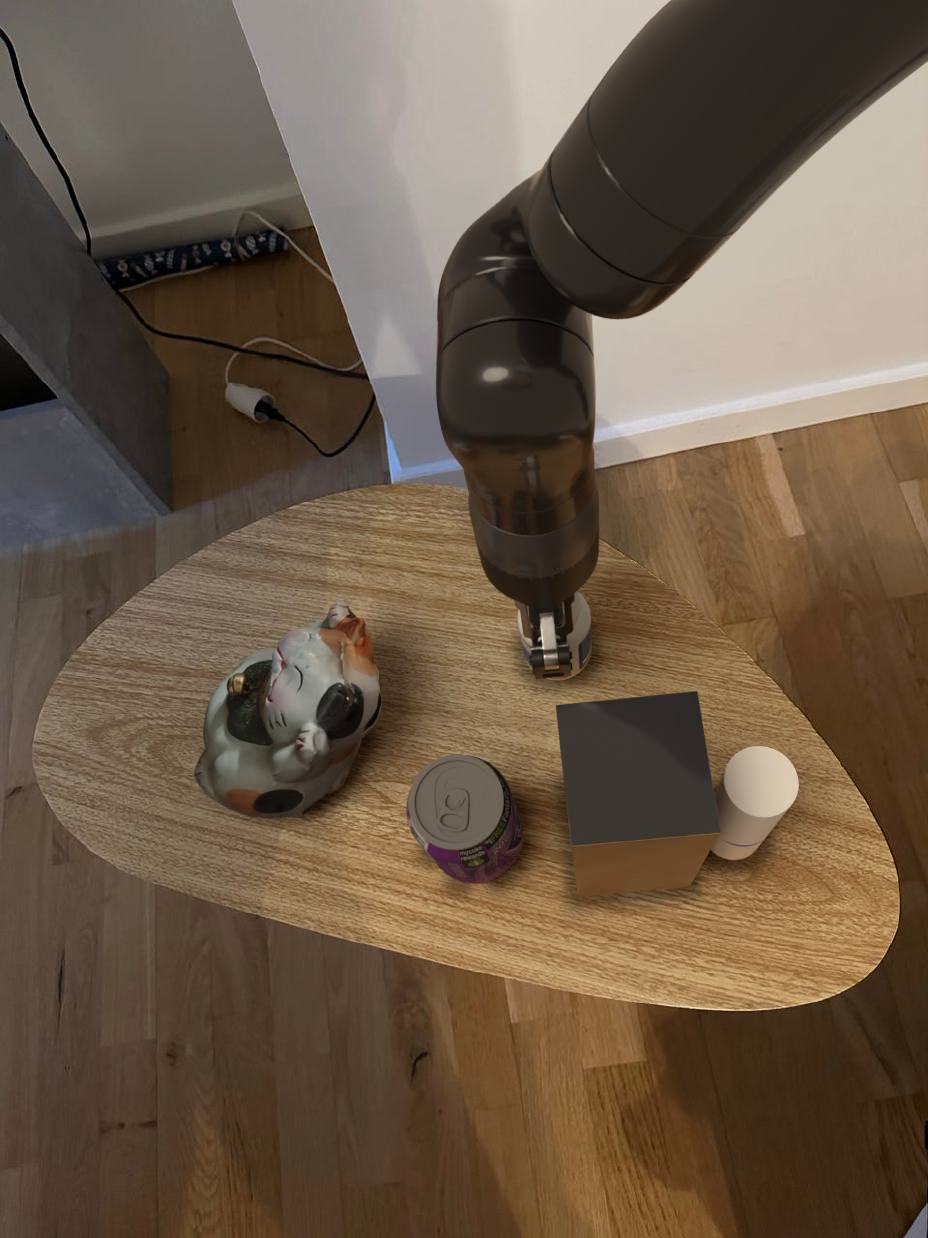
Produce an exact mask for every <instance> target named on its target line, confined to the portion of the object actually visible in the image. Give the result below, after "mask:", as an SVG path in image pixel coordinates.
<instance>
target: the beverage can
mask: <svg viewBox="0 0 928 1238" xmlns="http://www.w3.org/2000/svg"><path fill="white" fill-rule="evenodd" d="M405 806H406V807H405V814H406V815H405V816H406V820H407V826H408V827H409V830H410V832H411V835H412V836H413V838H414V840H415V841H416V843H417V844H418V845H419V847H421V849H422V850H423V851H424V852H425V853H426V855H428V856H429V858H430V859H431V860H432V861H433V862H434V864H436V866H437V867H438V868H439V870H441V871H442V872H443V873H445V874H446V875H447V876H449V877H450V878H452V879H454V880H456V881H459V882H461V883H466V884H483V883H488V882H491V881H493V880H496V879H497V878H500V877H501V876H503V875H504V874H505V873H507V872H508V871H509V870H510V869H511V868H512V867H513V866H514V864H515V862H516V861H517V859H518V857H519V855H520V853H521V851H522V847H523V842H524V826H523V821H522V818H521V815H520V812H519V809H518V806H517V804H516V801H515V798H514V796H513V792H512V790H511V788H510V785H509V783H508V781H507V780H506V777H505V776H504V775H503V774H502V772H500V770H499V769H498V768H497V767H495V766H494V765H493V764H492V763H490V762H488V761H487V760H485V759H483V758H481V757H478V756H475V755H471V754H462V753H454V754H453V753H452V754H447V755H442V756H441V757H438V758H435V759H434V760H432V761H430V762H429V763H427V764H426V765H425V766H424V767H423V768H422V769H421V770H420V771H419V772H418V773H417V775H416V776H415V778H414V780H413V782H412V784H411V786H410V789H409V791H408V794H407V798H406V805H405Z"/></svg>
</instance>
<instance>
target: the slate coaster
mask: <svg viewBox="0 0 928 1238" xmlns="http://www.w3.org/2000/svg"><path fill="white" fill-rule="evenodd" d="M555 713H556V721H557V733H558V740H559V749H560V760H561V768H562V769H561V770H562V778H563V787H564V788H563V789H564V796H565V797H564V798H565V805H566V814H567V815H566V816H567V825H568V834H569V835H568V836H569V843H570V848H571V847H578V846H589V845H600V844H611V843H623V842H634V841H645V840H656V839H667V838H678V837H689V836H701V835H712V834H720V826H719V819H718V813H717V807H716V801H715V795H714V793H715V790H714V784H713V778H712V771H711V765H710V760H709V753H708V747H707V741H706V735H705V728H704V722H703V716H702V710H701V704H700V699H699V691H698V690H693V691H681V692H672V693H671V692H670V693H663V694H653V695H652V694H651V695H642V696H634V697H633V696H631V697H622V698H612V699H602V700H592V701H583V702H575V703H574V702H573V703H564V704H555Z"/></svg>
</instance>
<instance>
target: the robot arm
mask: <svg viewBox="0 0 928 1238" xmlns="http://www.w3.org/2000/svg"><path fill="white" fill-rule="evenodd" d="M927 63H928V0H669V1H668V2H667V3H666V4H665V5H664V6H663V7H661V9H659V10H658V11H657V13H655V14H654V15H653V16H652V17H651V18H650V19H649V21H647V22H646V23H645V24H644V26H643V27H642V28H641V29H640V30H639V31H638V33H636V35H635V36H634V37H633V38H632V39H631V40H630V42H629V43H628V44H627V45H626V47H625V48H624V49H623V51H621V53H620V54H619V55H618V57H617V58H616V60H615V61H614V62H613V63H612V65H611V66H610V67H609V69H608V70H607V71H606V73H605V74H604V75H603V77H602V78H601V80H600V81H599V83H598V84H597V85H596V87H595V88H594V89H593V91H592V92H591V94H590V96H589V97H588V98H587V100H586V101H585V103H584V104H583V106H582V107H581V109H580V110H579V112H578V113H577V114H576V116H575V117H574V119H573V120H572V122H570V124H569V126H568V127H567V129H566V130H565V132H564V134H562V136H561V137H560V139H559V140H558V142H557V144H556V145H555V146H554V148H553V150H552V151H551V153H550V155H549V156H548V157H547V159H546V161H545V162H544V164H543V166H542V167H541V168H540V169H539V170H537V171H536V172H535V173H533V174H531V175H530V176H528V178H527V177H526V178H525V179H524V180H523V181H522V182H520V183H519V184H518V185H516V186H515V187H514V188H512V189H511V190H510V191H509V192H508V193H507V194H505V195H504V196H503V197H502V198H501V199H499V200H498V202H496V203H495V204H494V205H492V206H491V207H490V208H489V209H488V210H486V211H485V212H484V213H483V214H482V215H480V216H479V217H478V218H477V219H475V220H474V222H472V223H471V224H470V225H469V226H468V227H467V228H466V230H464V232H463V233H462V235H461V236H460V238H459V239H458V240H457V242H456V243H455V245H454V246H453V249H452V250H451V253H450V254H449V257H448V259H447V261H446V263H445V266H444V268H443V271H442V273H441V277H440V281H439V286H438V290H437V299H436V309H437V310H436V352H435V353H436V356H435V359H436V360H435V365H436V367H435V399H436V409H437V415H438V421H439V426H440V431H441V434H442V438H443V440H444V443H445V445H446V447H447V449H448V450H449V452H450V454H451V455H452V456H453V458H454V459H455V460H456V461H457V462H458V464H459V465H460V466H461V468H462V470H463V474H464V479H465V482H466V487H467V491H468V497H467V500H468V501H467V502H468V503H467V504H468V505H467V506H468V514H469V518H470V523H471V527H472V531H473V536H474V539H475V543H476V547H477V548H476V549H477V552H478V555H479V560H480V564H481V568H482V570H483V572H484V574H485V577H486V578H487V579H488V581H489V582H490V583H491V585H492V586H493V587H494V588H495V589H496V590H497V591H499V593H501V594H502V595H504V596H505V597H508V598H509V599H511V600H514V605H515V607H516V609H518V610H520V615H521V622H522V629H523V635H524V636H525V637H526V638H529V639H531V641H532V646H530V647H531V656H529V659H530V663H532V665H533V667H532V669H531V671H532V675H534V678H535V680H544V679H546V678H554V677H563V676H571V670H573V667H572V663H571V661H570V659H573V658H572V651H570V652H569V649H570V643H569V642H567V635H568V634H570V633H572V632H573V630H574V627H573V616H572V603H573V602H574V600H575V595H574V593H575V592H577V591H578V592H579V590H580V589H582V587H584V586H585V585H586V583H587V582H588V581H589V580H590V578H591V576H592V575H593V573H594V572H595V569H596V567H597V564H598V561H599V556H600V555H599V554H600V495H599V489H598V484H597V480H596V479H597V478H596V475H595V446H594V445H595V444H594V442H595V441H594V440H595V432H596V416H597V414H596V413H597V411H596V410H597V389H596V388H597V387H596V385H597V384H596V366H595V351H594V347H595V346H594V330H593V329H594V328H593V316H594V317H598V318H602V319H606V320H618V321H619V320H630V319H635V318H638V317H641V316H643V315H646V314H648V313H649V312H652V311H653V310H655V309H657V308H658V307H660V306H661V305H662V304H664V303H665V302H666V301H668V300H669V299H670V298H671V297H672V296H674V295H675V294H676V293H677V292H678V291H680V290H681V288H682V287H684V286H685V284H686V283H688V282H689V280H691V278H692V277H693V276H694V275H695V274H696V273H697V272H698V271H700V269H702V268H703V267H704V266H705V264H707V262H709V260H710V259H711V258H713V256H714V255H715V254H716V253H717V252H718V251H719V250H720V249H721V248H722V247H723V246H724V245H725V244H726V243H727V242H728V241H729V240H730V239H731V238H732V237H733V236H734V235H735V234H736V233H737V232H738V231H739V230H740V229H741V228H742V226H744V225H745V224H746V223H747V222H748V220H749V219H750V218H752V217H753V216H754V215H755V213H756V212H757V211H759V209H761V207H762V206H763V205H764V204H765V203H766V202H767V201H768V200H769V199H770V198H771V197H772V196H773V195H774V194H775V193H776V192H777V190H779V189H780V187H782V186H783V184H785V183H786V182H787V181H788V180H789V179H790V178H791V177H792V176H793V175H794V174H795V173H797V171H798V170H800V169H801V168H802V167H803V165H805V164H806V163H807V162H808V161H809V160H810V159H812V157H813V156H814V155H815V154H816V153H818V151H820V150H821V149H822V148H823V147H824V146H825V145H826V144H828V143H829V142H830V141H831V140H832V139H834V138H835V137H836V136H837V135H838V134H839V133H841V131H842V130H843V129H845V128H846V127H847V126H848V125H850V124H851V123H852V122H853V121H854V120H856V119H857V118H858V117H859V116H860V115H862V114H863V113H864V112H865V111H867V110H868V109H869V108H870V107H871V106H872V105H873V104H875V103H876V102H877V101H878V100H880V99H881V98H883V97H884V96H885V95H887V94H888V93H889V92H890V91H891V90H893V89H894V88H895V87H897V86H899V84H901V83H902V82H903V81H904V80H906V79H907V78H908V77H910V76H911V75H912V74H914V73H915V72H917V70H919V69H920V68H922V67H923V66H924V65H925V64H927ZM562 602H563V603H562ZM563 605H564V611H563ZM528 612H529V613H528ZM556 635H558V636H560V638H556ZM540 637H542V640H538V639H539V638H540Z"/></svg>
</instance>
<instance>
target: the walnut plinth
mask: <svg viewBox="0 0 928 1238" xmlns="http://www.w3.org/2000/svg"><path fill="white" fill-rule="evenodd" d="M718 835H719V834H712V835H701V836H689V837H678V838H667V839H656V840H645V841H634V842H623V843H611V844H600V845H589V846H578V847H571V846H570V851H571V858H572V866H573V871H574V872H573V873H574V879H575V886H576V894H577V897H580V898H581V897H590V896H592V897H593V896H603V895H604V896H605V895H615V894H625V893H626V894H627V893H637V892H639V893H640V892H649V891H662V890H673V889H685V888H691V885H692V884H693V882H694V880H695V878H696V876H697V875H698V872H699V871H700V869H701V868H702V866H703V864H704V862H705V860H706V859H707V856H708V855H709V853H710V851H711V850H710V849H711V848H712V846H713V844H714V842H715V840H716V839H717V837H718Z"/></svg>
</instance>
